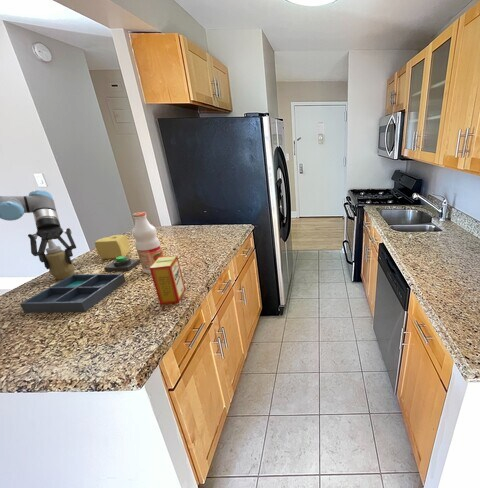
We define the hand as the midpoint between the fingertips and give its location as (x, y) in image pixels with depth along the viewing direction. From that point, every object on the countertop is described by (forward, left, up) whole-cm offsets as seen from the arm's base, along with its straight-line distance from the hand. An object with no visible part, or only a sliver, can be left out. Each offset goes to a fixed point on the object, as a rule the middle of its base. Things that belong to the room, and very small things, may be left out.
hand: (58, 265), depth 113 cm
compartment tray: (+18, -13, -7) cm, 23 cm away
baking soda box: (+56, -15, -7) cm, 58 cm away
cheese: (+4, +27, -7) cm, 28 cm away
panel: (+18, +12, -7) cm, 23 cm away
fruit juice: (+35, +9, -7) cm, 37 cm away
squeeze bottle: (-2, +3, -7) cm, 8 cm away
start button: (+18, +12, -4) cm, 22 cm away
